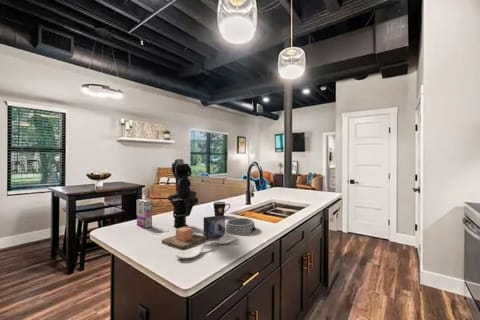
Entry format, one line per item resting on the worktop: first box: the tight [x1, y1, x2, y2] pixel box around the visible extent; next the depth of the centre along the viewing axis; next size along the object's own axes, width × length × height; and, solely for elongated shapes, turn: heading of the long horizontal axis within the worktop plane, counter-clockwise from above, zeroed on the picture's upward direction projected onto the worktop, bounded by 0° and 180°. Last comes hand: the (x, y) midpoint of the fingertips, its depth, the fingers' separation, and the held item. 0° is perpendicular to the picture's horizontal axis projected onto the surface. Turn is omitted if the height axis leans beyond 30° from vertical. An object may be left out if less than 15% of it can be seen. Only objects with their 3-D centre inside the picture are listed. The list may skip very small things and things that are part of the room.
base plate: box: [161, 233, 208, 251], centre depth 121 cm, size 16×16×4 cm
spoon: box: [175, 232, 238, 259], centre depth 111 cm, size 9×32×4 cm, turn 136°
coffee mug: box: [212, 201, 231, 218], centre depth 169 cm, size 12×9×10 cm
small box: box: [202, 215, 226, 241], centre depth 128 cm, size 11×6×10 cm, turn 117°
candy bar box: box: [136, 198, 153, 229], centre depth 149 cm, size 11×5×16 cm, turn 49°
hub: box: [175, 226, 194, 241], centre depth 121 cm, size 6×6×5 cm
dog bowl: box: [225, 217, 257, 236], centre depth 139 cm, size 17×18×5 cm
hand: (183, 214), depth 131 cm, fingers open, 9 cm apart
